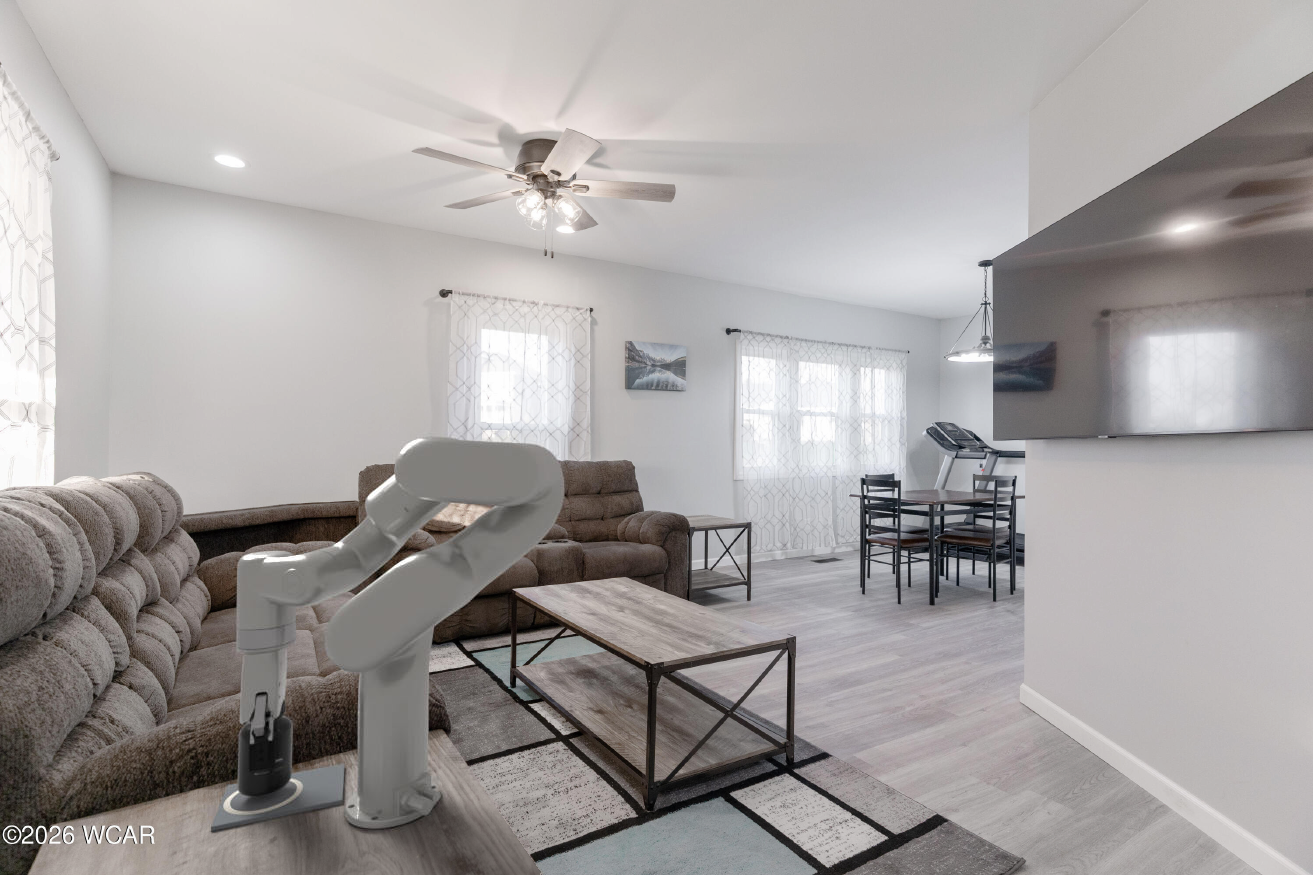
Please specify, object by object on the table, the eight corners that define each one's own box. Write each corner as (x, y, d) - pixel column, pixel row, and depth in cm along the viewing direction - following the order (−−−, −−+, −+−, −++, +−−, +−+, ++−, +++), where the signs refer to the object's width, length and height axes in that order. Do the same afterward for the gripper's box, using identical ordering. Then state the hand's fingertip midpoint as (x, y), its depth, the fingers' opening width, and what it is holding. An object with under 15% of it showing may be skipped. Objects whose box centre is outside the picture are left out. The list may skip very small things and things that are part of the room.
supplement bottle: (266, 800, 90) (267, 714, 90) (225, 795, 92) (226, 710, 92) (302, 776, 97) (303, 696, 97) (264, 771, 98) (264, 693, 99)
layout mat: (344, 767, 104) (344, 762, 104) (342, 803, 93) (342, 798, 93) (227, 788, 97) (227, 783, 97) (210, 831, 86) (210, 825, 86)
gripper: (246, 624, 101) (245, 738, 101) (225, 656, 85) (224, 791, 85) (300, 619, 104) (299, 729, 104) (289, 648, 88) (288, 778, 88)
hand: (265, 756), depth 94 cm, fingers closed on supplement bottle, 6 cm apart
